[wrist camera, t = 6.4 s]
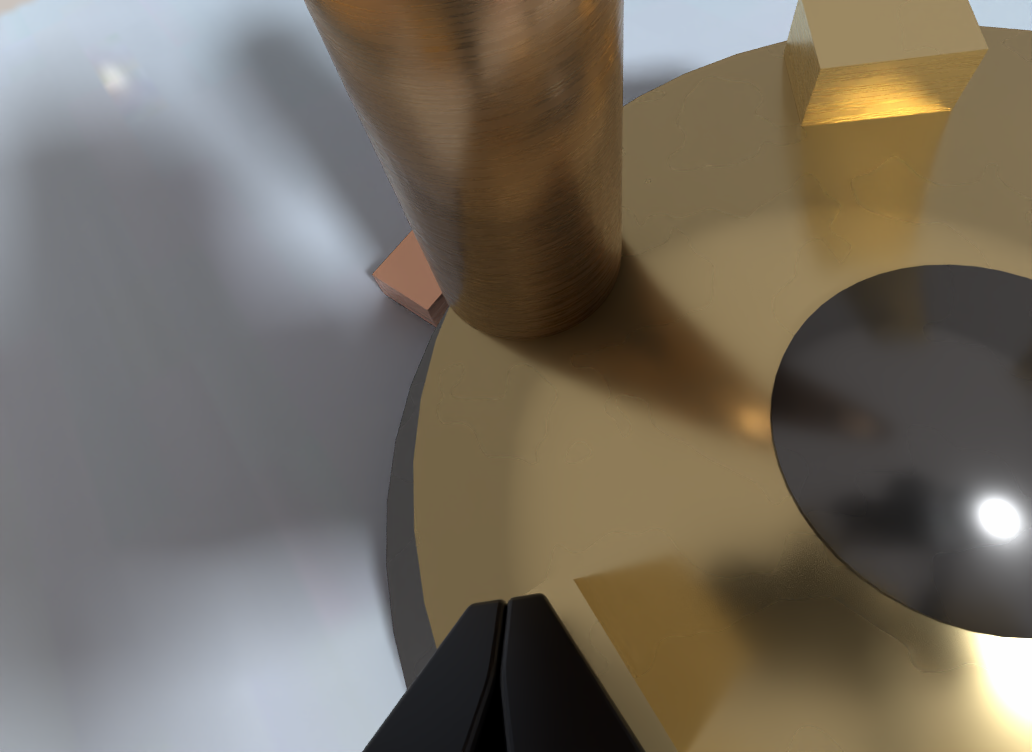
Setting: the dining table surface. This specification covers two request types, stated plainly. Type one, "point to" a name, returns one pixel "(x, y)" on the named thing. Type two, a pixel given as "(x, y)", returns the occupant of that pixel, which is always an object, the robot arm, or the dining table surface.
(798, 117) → the brass turntable disc
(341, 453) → the dining table surface
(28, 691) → the dining table surface
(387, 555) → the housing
